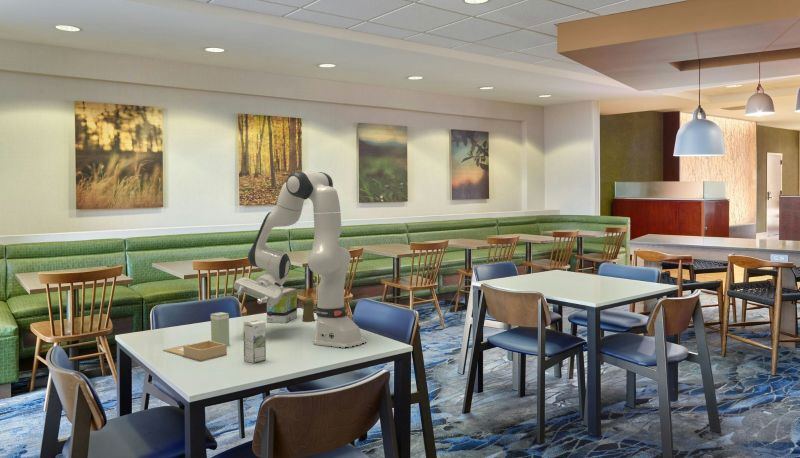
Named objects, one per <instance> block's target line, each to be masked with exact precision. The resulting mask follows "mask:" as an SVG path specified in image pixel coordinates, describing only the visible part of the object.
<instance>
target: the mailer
mask: <svg viewBox="0 0 800 458" xmlns="http://www.w3.org/2000/svg"><path fill="white" fill-rule="evenodd" d="M227 347H228V346H226V344H222V343H218V342H214V341H211V340H205V341H200V342H196V343H191V344H189V343H188V344H183V345H179V346H178V345H177V346H174V347H170V348H164V349H162V351H163V352H166V353H169V354H174V355H177V356H180V357H184V358H187V359H191V360H195V361H198V362H204V361H208V360H212V359H217V358H220V357H224V356H227V355H228V352H227Z"/></svg>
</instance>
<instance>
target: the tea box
mask: <svg viewBox="0 0 800 458" xmlns="http://www.w3.org/2000/svg"><path fill="white" fill-rule="evenodd" d="M297 317H298V288H289V287H288V288H287V287H283V293H282V297H281V299H280V301H279V302H278V304H276V305H272V304H270V303H267V302H266V323H273V324H286V323H287V322H290V321H292V320H294V319H296V318H297Z"/></svg>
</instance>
